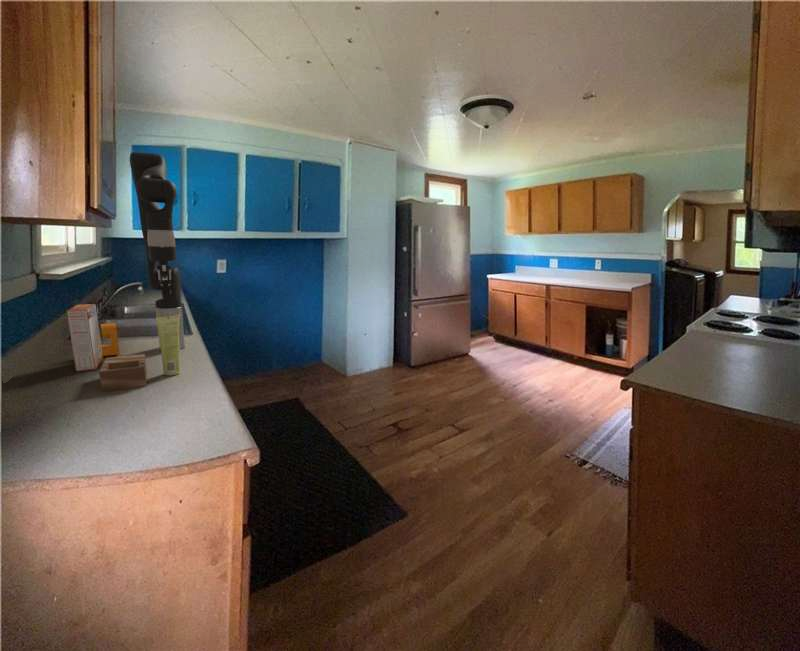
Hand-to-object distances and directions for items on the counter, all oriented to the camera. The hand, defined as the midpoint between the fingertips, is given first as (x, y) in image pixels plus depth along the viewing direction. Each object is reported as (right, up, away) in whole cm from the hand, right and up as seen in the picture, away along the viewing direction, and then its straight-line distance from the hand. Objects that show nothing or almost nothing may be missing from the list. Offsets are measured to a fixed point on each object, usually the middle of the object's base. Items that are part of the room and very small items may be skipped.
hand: (166, 296), depth 132 cm
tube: (-1, -26, +5) cm, 26 cm away
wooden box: (-11, -27, -3) cm, 29 cm away
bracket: (-38, -21, +27) cm, 51 cm away
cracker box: (-34, -24, +12) cm, 43 cm away
